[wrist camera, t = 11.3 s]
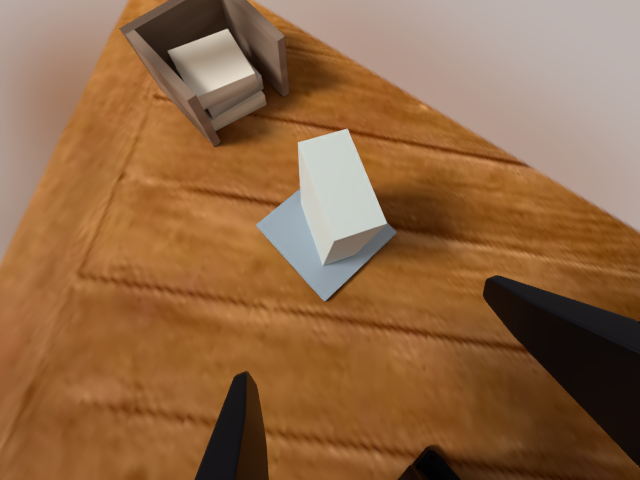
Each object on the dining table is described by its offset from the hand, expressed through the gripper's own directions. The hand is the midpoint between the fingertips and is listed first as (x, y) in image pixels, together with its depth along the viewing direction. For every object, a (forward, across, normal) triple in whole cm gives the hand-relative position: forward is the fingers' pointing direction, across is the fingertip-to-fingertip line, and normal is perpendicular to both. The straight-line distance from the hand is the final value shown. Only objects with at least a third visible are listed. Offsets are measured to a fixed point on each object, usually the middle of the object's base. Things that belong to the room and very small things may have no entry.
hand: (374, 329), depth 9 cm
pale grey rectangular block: (+14, -2, +4) cm, 15 cm away
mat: (+15, -2, +5) cm, 15 cm away
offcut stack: (+26, +3, -7) cm, 27 cm away
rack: (+27, +3, -7) cm, 28 cm away
